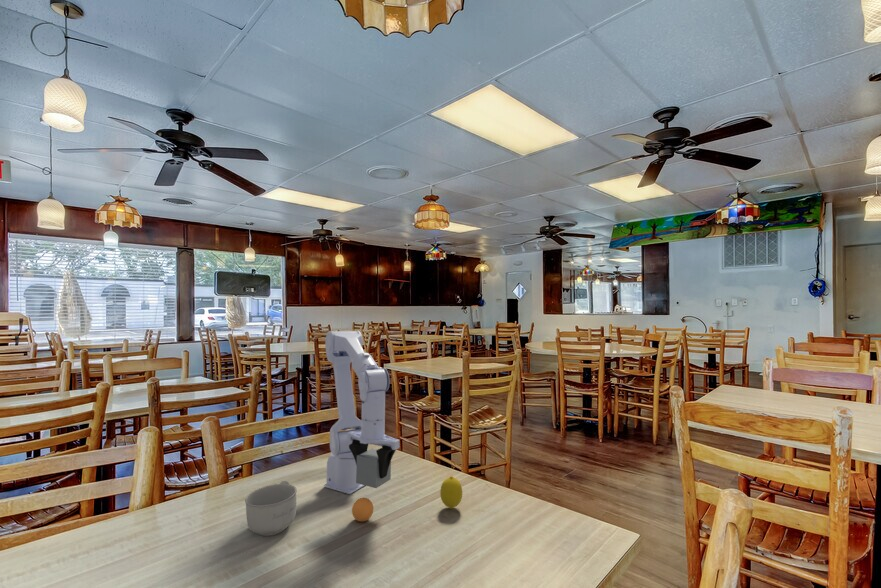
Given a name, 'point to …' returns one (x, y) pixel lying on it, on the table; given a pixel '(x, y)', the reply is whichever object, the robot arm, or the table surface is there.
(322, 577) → the table surface
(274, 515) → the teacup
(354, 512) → the ball
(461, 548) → the table surface
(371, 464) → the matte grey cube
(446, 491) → the lemon
